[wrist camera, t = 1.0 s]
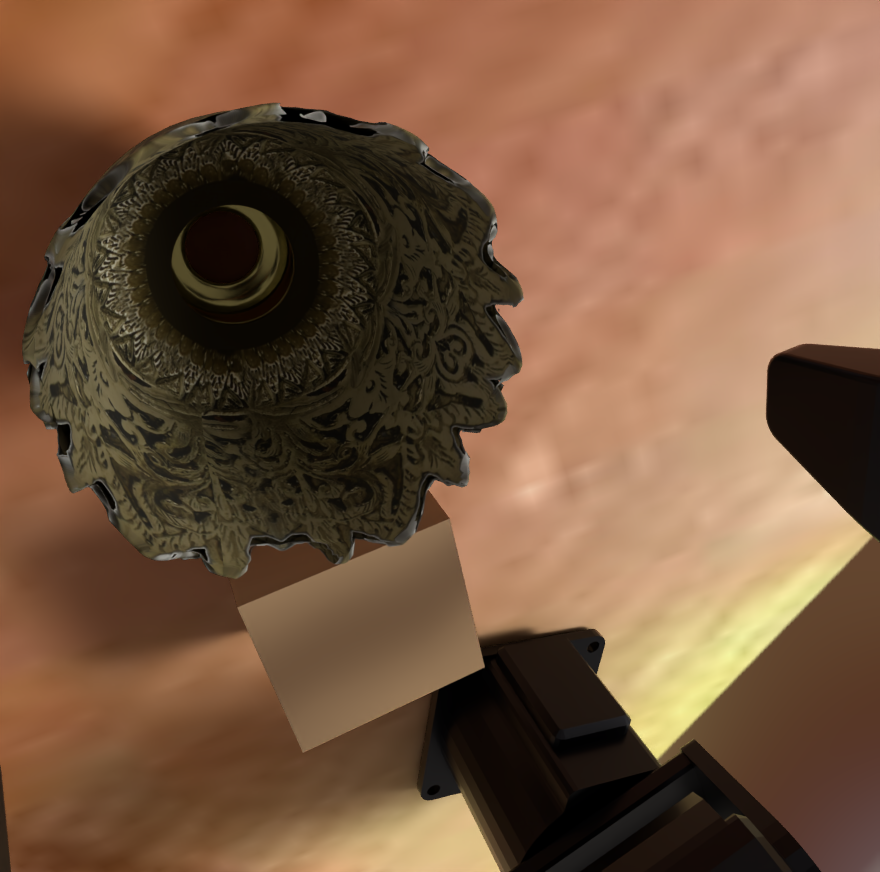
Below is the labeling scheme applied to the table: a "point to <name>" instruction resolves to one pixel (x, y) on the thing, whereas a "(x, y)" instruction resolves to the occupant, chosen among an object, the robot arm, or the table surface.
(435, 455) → the ornate bronze bell
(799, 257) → the table surface
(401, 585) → the walnut block
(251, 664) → the table surface
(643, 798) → the robot arm
